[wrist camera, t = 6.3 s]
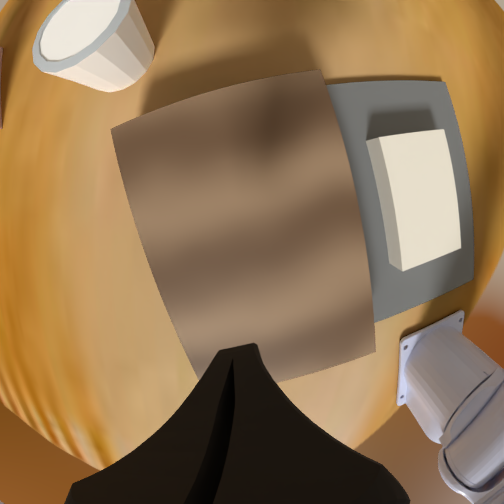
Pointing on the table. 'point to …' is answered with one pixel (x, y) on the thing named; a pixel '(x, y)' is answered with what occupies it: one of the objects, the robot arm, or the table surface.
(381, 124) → the mat
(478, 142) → the table surface
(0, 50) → the greeting card
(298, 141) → the platform
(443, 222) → the tile
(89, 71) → the white cup
